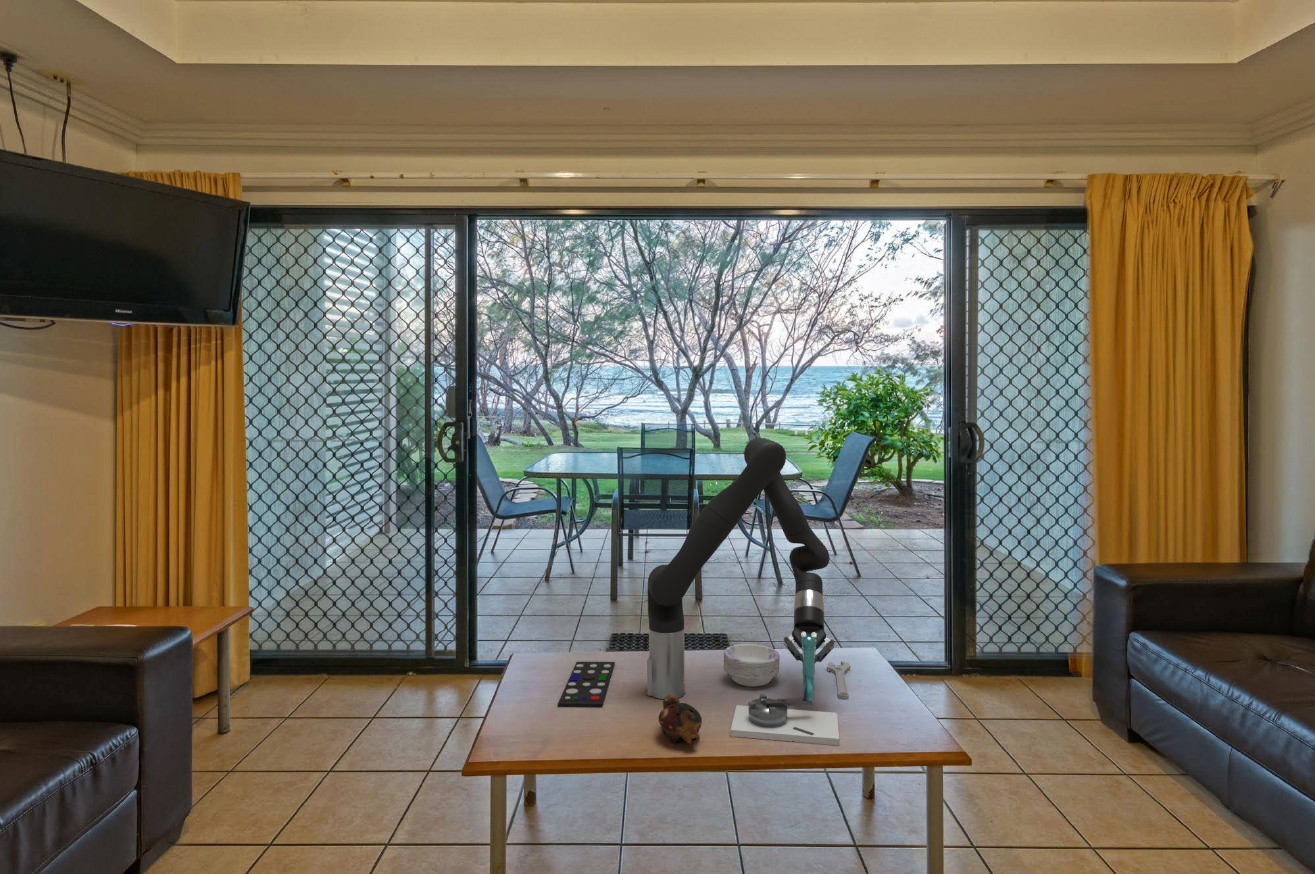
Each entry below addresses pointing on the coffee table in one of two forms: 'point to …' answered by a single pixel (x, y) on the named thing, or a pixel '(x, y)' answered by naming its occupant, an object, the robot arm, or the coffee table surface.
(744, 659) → the paper bowls
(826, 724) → the white rectangular board
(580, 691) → the remote control
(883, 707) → the coffee table surface
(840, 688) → the adjustable wrench
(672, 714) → the decorative turtle
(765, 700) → the teal handled crank
